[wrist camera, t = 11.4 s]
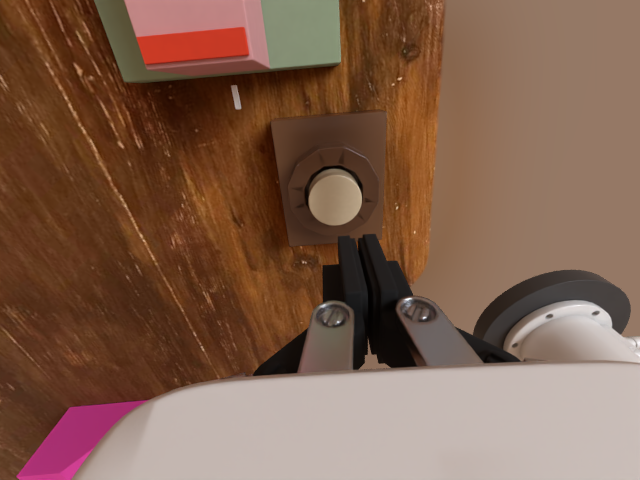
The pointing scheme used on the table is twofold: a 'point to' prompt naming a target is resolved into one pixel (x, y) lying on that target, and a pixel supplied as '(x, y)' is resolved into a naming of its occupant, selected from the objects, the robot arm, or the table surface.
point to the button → (334, 197)
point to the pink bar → (200, 35)
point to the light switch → (330, 153)
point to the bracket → (73, 440)
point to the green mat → (280, 29)
